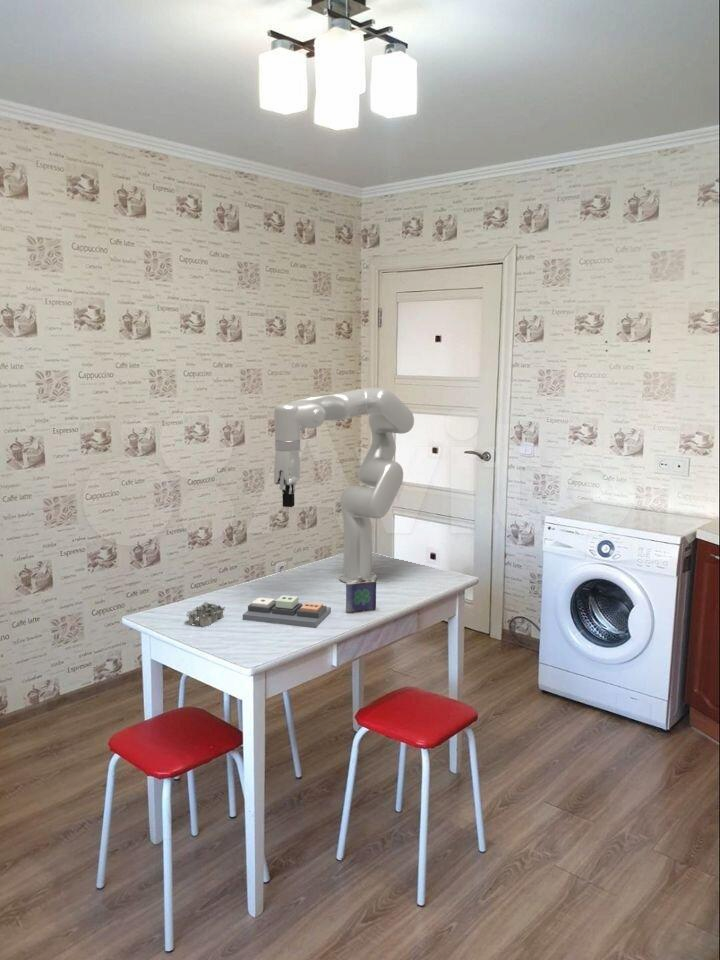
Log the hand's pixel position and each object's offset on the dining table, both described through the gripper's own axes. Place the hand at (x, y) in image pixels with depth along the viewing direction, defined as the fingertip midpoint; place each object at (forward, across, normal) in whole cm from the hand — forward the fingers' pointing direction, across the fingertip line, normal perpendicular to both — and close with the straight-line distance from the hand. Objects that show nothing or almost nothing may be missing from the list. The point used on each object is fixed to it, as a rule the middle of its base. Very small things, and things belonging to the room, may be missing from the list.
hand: (288, 506), depth 228 cm
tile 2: (+26, +14, +5) cm, 30 cm away
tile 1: (+27, +14, -3) cm, 31 cm away
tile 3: (+27, +14, +12) cm, 33 cm away
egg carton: (+30, +24, -16) cm, 41 cm away
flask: (+29, +4, +24) cm, 38 cm away
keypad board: (+29, +14, +5) cm, 33 cm away
